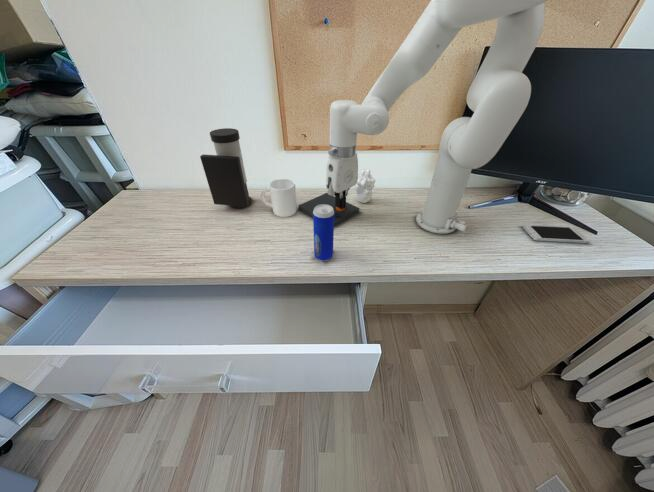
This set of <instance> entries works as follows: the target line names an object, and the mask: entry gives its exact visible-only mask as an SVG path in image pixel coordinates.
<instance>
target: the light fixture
mask: <svg viewBox="0 0 654 492" xmlns="http://www.w3.org/2000/svg"><path fill="white" fill-rule="evenodd" d="M209 136H210V141H211V142H212V143H213V146H214V149H215V154H201V155H200V156H199V159H200V161H201V165H202V168H203V171H204V175H205V178H206V182H207V185H208V188H209V191H210V194H211V197H212V200H213V204H214V205H219V206H220V205H221V206H229V208H231V209H237V210H238V209H245V208H248V207H249V206H251V205H252V203H253V200H252V197H251V196H250V195H249V190H248V184H247V182H248V179H247V174H246V170H245V164H244V159H243V154H242V148H241V145H240V139H241V137H240V132H239V130H238V129H236V128H230V127H224V128H217V129H213V130H211V131H210V132H209Z"/></svg>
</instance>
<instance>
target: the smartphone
mask: <svg viewBox="0 0 654 492" xmlns="http://www.w3.org/2000/svg"><path fill="white" fill-rule="evenodd" d="M522 229H524V231H525V232H526V233H527V234H528V235H529V237H530V238H531V239H533V241H542V242H558V243H559V242H562V243H576V244H577V243H578V244H588V243H589V241H590V239H588V238H587V237H586V236H585V235H583V233H581V232H580V231H579V230H578V229H577V228H576V227H570V226H549V225H530V224H529V225H528V224H527V225H526V224H524V225H523V226H522Z"/></svg>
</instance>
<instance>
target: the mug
mask: <svg viewBox="0 0 654 492" xmlns="http://www.w3.org/2000/svg"><path fill="white" fill-rule="evenodd" d="M267 192H270V200H271V202H270V201H268V200H267V198H266V193H267ZM260 199H261V202H263V204H264V205H266V206H267V207H270V208H272V212H273V214H274V215H275V216H277V217H280V218H288V217H293V216H294V215H295V214H296V213H297V210H298V204H297V203H298V202H297V192H296V183H295V181H294V180H292V179H289V178H278V179H274V180H272V181H271V182H270V183H269V186H265V187H264V188H263V189H262V190H261V192H260Z"/></svg>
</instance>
